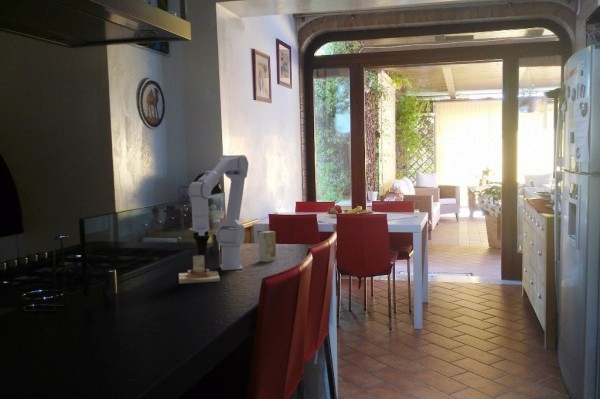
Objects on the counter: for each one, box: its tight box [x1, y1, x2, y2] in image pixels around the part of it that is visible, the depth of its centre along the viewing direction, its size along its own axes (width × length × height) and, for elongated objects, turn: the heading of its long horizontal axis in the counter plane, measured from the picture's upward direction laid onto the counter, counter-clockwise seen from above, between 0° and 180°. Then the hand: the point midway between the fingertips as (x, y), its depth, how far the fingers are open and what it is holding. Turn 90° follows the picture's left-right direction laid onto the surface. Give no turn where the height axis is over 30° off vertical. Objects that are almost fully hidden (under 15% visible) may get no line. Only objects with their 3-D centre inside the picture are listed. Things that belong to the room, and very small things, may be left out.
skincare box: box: [258, 230, 277, 263], centre depth 241 cm, size 6×4×12 cm
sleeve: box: [192, 254, 205, 273], centre depth 208 cm, size 4×4×7 cm
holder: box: [178, 268, 221, 284], centre depth 208 cm, size 14×14×2 cm
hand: (201, 253), depth 208 cm, fingers open, 7 cm apart
